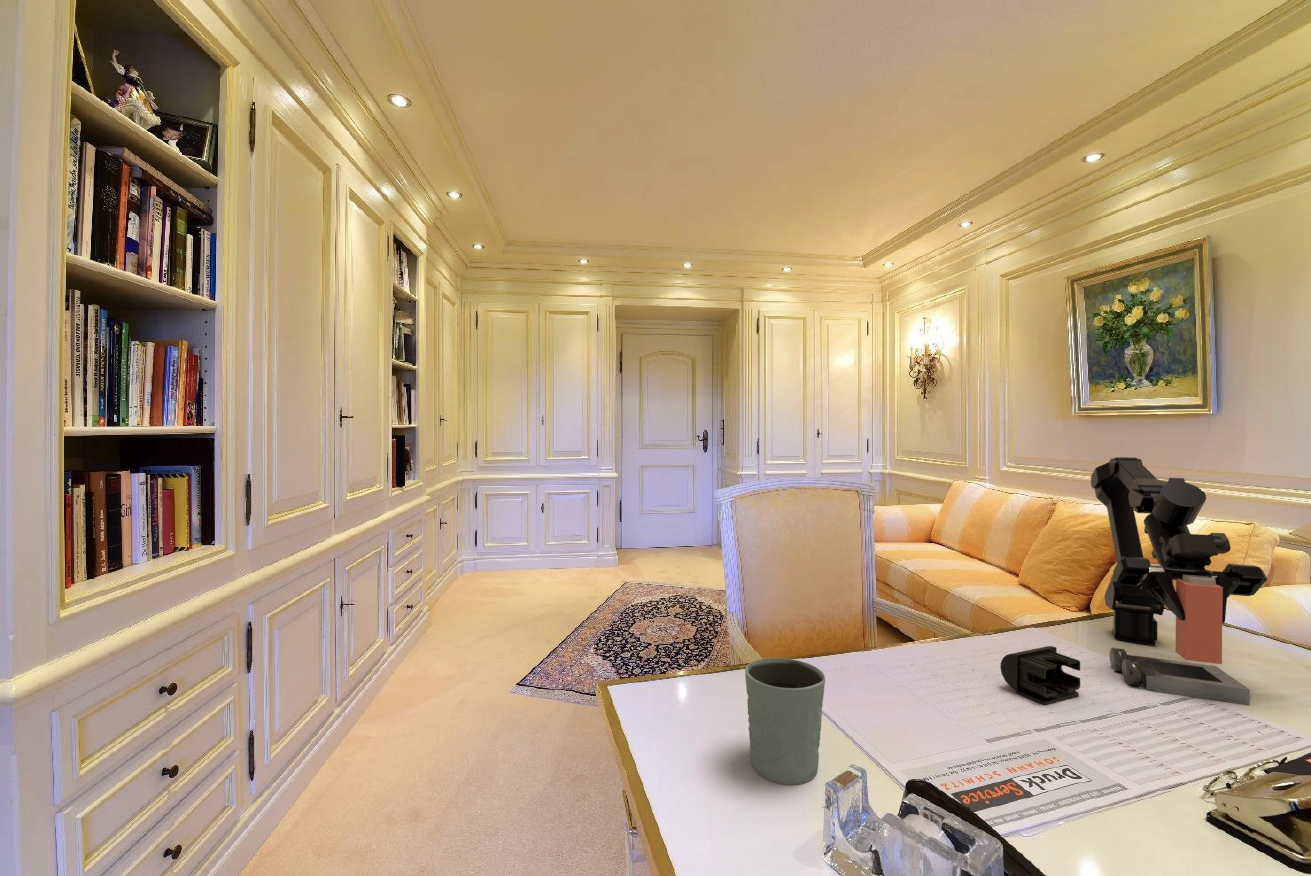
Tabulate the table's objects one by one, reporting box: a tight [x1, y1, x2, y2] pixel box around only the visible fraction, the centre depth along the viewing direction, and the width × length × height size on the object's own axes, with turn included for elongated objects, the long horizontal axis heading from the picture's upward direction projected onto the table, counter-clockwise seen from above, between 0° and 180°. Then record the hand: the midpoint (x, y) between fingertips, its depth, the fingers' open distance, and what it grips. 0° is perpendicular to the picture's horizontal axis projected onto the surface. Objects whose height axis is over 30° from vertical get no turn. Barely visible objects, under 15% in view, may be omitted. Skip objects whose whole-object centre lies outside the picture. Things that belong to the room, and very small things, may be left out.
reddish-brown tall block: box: [1174, 574, 1223, 665], centre depth 91 cm, size 4×4×14 cm
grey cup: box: [744, 657, 826, 786], centre depth 71 cm, size 10×10×12 cm
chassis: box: [1109, 647, 1251, 706], centre depth 95 cm, size 10×15×4 cm, turn 66°
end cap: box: [999, 645, 1081, 706], centre depth 92 cm, size 10×7×7 cm
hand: (1202, 621), depth 89 cm, fingers closed on reddish-brown tall block, 4 cm apart
